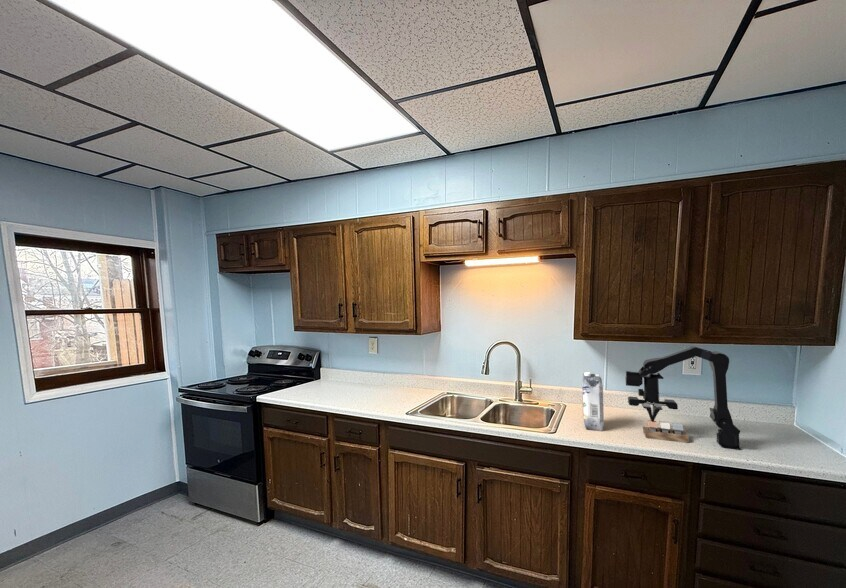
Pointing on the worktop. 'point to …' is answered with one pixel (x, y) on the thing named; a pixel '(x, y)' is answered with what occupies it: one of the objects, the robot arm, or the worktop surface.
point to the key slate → (677, 428)
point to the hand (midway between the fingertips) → (652, 421)
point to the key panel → (666, 435)
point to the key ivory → (664, 426)
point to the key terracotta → (652, 425)
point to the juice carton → (592, 401)
